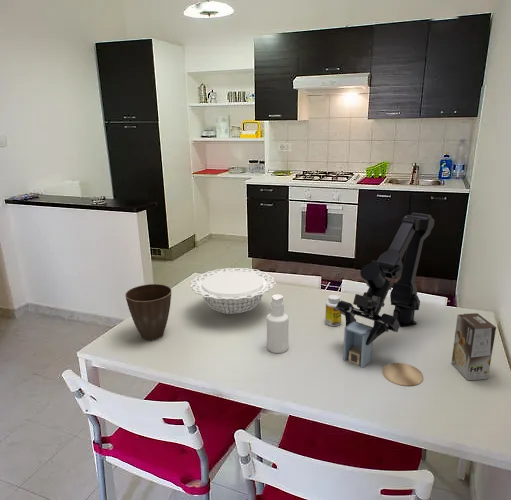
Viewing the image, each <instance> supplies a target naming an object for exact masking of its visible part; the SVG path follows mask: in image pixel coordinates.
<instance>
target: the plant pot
mask: <svg viewBox="0 0 511 500" xmlns="http://www.w3.org/2000/svg"><path fill="white" fill-rule="evenodd" d="M124 296H125V299H126V303H127V307H128V311H129V313H130V316H131V319H132V321H133V324H134V326H135V327H136V329H137V332H138V333H139V336H140V337H141V338H142V339H143V340H145V341H155V340H159V339H161V338H162V337H163V336H164V334H165V331H166V327H167V323H168V319H169V314H170V309H171V302H172V301H171V300H172V288H171V287H170V286H168V285H165V284H159V283H149V284H142V285H138V286H134V287H133V288H130V289H128V291H126V293H125V295H124Z"/></svg>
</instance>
